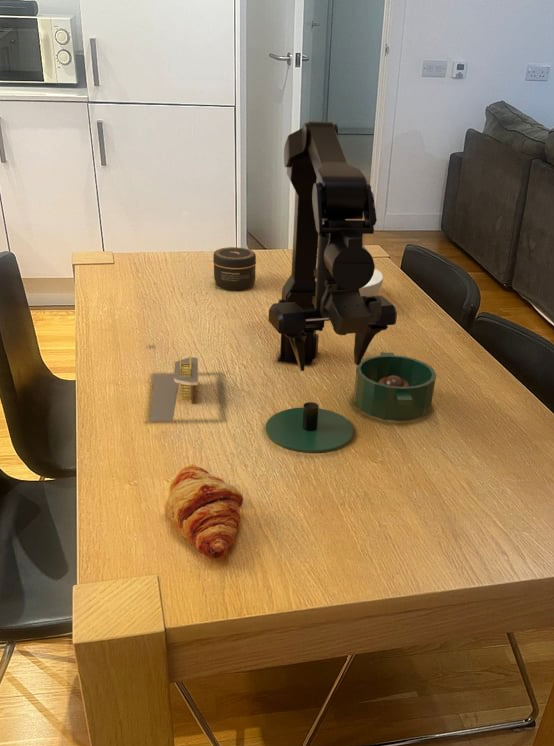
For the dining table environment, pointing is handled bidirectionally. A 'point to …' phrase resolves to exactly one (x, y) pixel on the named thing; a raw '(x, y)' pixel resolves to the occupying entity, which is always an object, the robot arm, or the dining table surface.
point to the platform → (173, 389)
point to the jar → (234, 268)
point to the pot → (394, 387)
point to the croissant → (204, 510)
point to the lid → (309, 429)
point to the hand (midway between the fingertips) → (329, 367)
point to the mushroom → (394, 381)
